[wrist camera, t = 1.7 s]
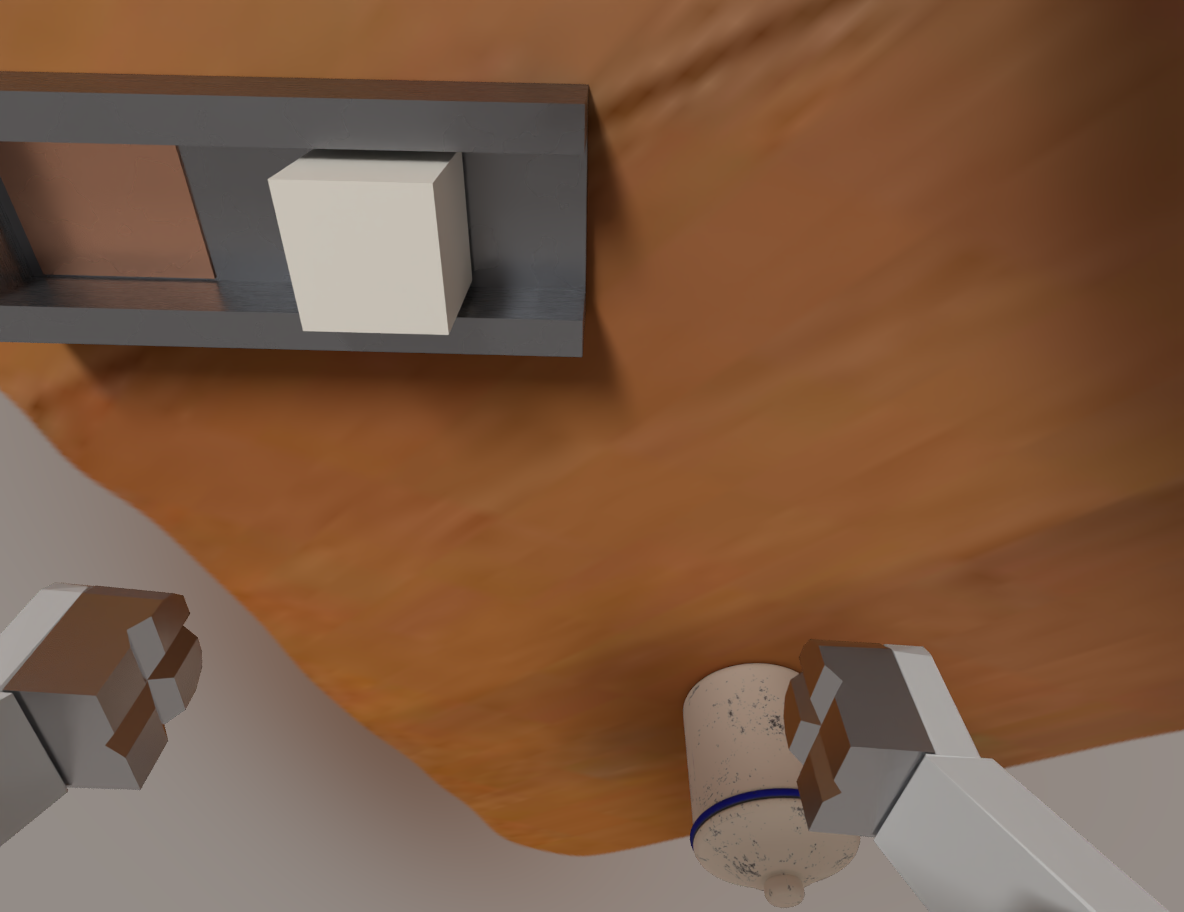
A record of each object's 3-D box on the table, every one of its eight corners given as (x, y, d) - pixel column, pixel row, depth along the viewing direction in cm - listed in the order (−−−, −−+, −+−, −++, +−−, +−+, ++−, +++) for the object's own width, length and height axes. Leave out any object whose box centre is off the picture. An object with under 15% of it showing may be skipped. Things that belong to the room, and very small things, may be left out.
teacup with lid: (722, 760, 50) (748, 952, 40) (651, 690, 45) (661, 887, 36) (889, 700, 45) (963, 900, 36) (828, 618, 41) (893, 819, 32)
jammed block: (461, 146, 26) (432, 183, 22) (472, 280, 29) (448, 334, 25) (322, 143, 26) (267, 179, 22) (347, 276, 29) (303, 331, 25)
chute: (588, 84, 26) (584, 104, 22) (585, 313, 31) (582, 356, 27) (-76, 69, 26) (-176, 86, 23) (29, 299, 31) (-40, 340, 28)
